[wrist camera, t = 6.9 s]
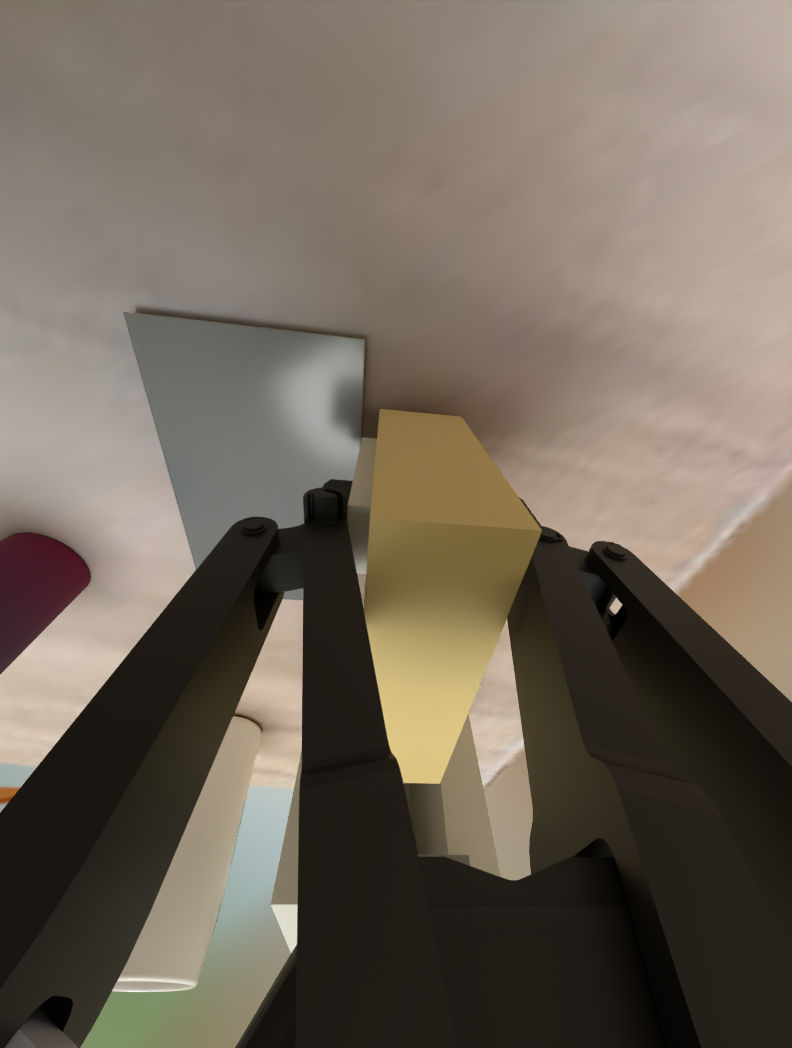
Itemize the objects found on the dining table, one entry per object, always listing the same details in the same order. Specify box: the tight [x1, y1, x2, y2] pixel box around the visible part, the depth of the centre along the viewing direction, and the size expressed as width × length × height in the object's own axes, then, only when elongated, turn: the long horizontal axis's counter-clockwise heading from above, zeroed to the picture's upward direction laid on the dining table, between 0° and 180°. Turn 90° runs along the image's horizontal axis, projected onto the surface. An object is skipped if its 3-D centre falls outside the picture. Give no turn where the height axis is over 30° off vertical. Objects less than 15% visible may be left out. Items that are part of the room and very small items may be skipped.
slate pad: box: [123, 312, 366, 600], centre depth 19 cm, size 16×10×1 cm, turn 174°
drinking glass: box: [112, 716, 262, 992], centre depth 26 cm, size 7×7×15 cm
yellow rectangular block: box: [364, 409, 542, 784], centre depth 15 cm, size 14×4×10 cm, turn 174°
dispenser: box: [271, 715, 500, 953], centre depth 23 cm, size 15×10×14 cm
